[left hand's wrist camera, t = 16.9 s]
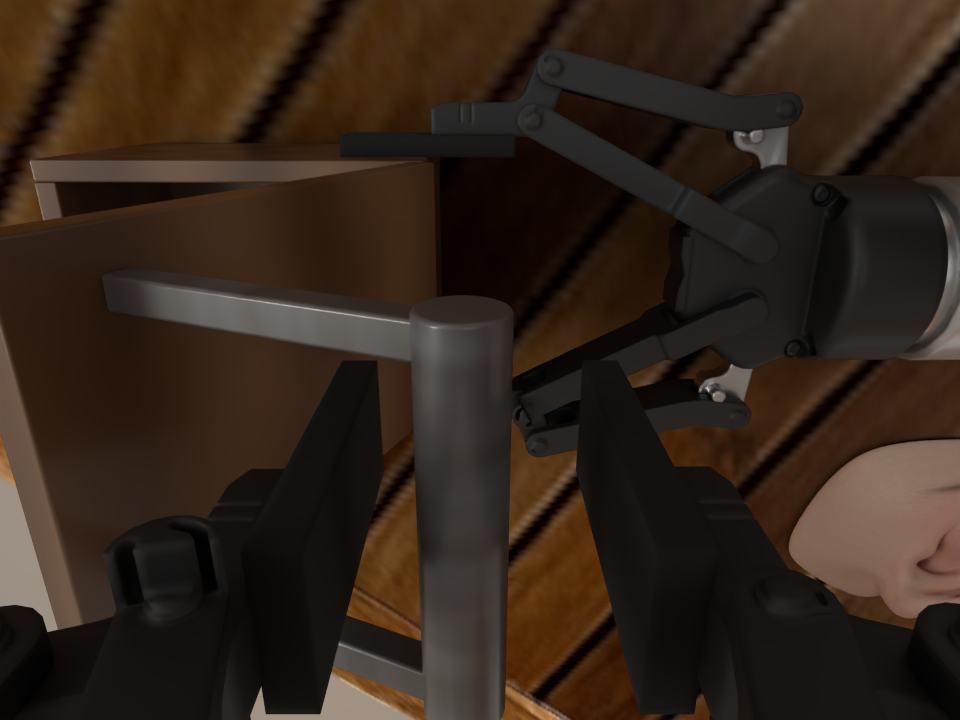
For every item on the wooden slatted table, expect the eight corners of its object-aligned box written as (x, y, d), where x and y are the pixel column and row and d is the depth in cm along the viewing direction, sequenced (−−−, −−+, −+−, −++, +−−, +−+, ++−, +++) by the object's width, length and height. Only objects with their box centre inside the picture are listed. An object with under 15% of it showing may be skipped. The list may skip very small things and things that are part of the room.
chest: (185, 322, 35) (84, 399, 26) (155, 142, 32) (28, 159, 23) (442, 322, 35) (430, 399, 26) (439, 143, 32) (423, 160, 23)
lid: (72, 683, 14) (450, 866, 10) (-59, 235, 10) (438, 300, 7) (419, 403, 26) (637, 446, 23) (411, 161, 23) (665, 172, 20)
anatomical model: (800, 632, 38) (869, 456, 34) (772, 584, 42) (830, 421, 37) (1022, 654, 38) (1116, 485, 34) (975, 606, 42) (1054, 447, 38)
